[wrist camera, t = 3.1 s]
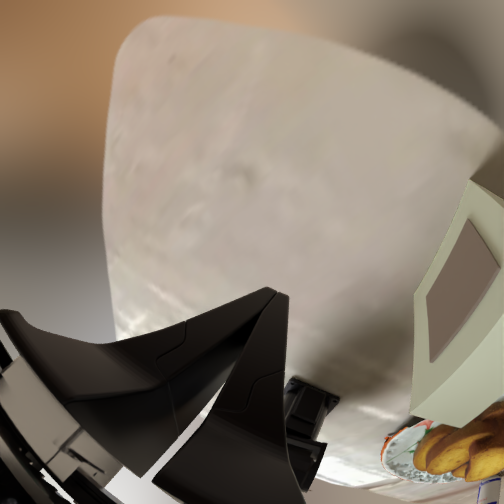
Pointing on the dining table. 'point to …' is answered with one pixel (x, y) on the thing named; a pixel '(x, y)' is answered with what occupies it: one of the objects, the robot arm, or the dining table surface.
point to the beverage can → (489, 490)
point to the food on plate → (448, 449)
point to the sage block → (462, 316)
